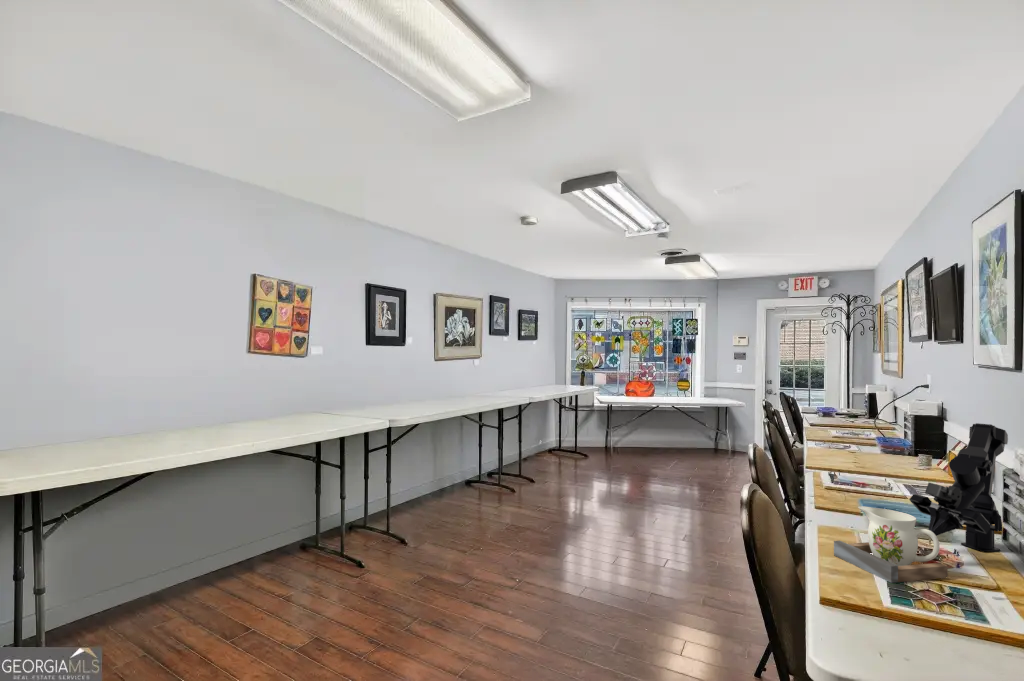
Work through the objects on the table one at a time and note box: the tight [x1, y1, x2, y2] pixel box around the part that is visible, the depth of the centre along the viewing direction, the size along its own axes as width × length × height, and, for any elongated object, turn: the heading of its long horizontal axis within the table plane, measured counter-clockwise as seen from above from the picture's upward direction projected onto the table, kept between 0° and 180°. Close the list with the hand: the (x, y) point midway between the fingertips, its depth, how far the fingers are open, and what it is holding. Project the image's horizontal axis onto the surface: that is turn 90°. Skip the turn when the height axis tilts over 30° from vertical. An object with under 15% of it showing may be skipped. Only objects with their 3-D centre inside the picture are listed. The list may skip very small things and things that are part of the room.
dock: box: [833, 540, 949, 583], centre depth 142 cm, size 17×18×4 cm
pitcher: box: [857, 505, 941, 566], centre depth 143 cm, size 11×18×14 cm, turn 44°
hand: (929, 535), depth 146 cm, fingers closed
